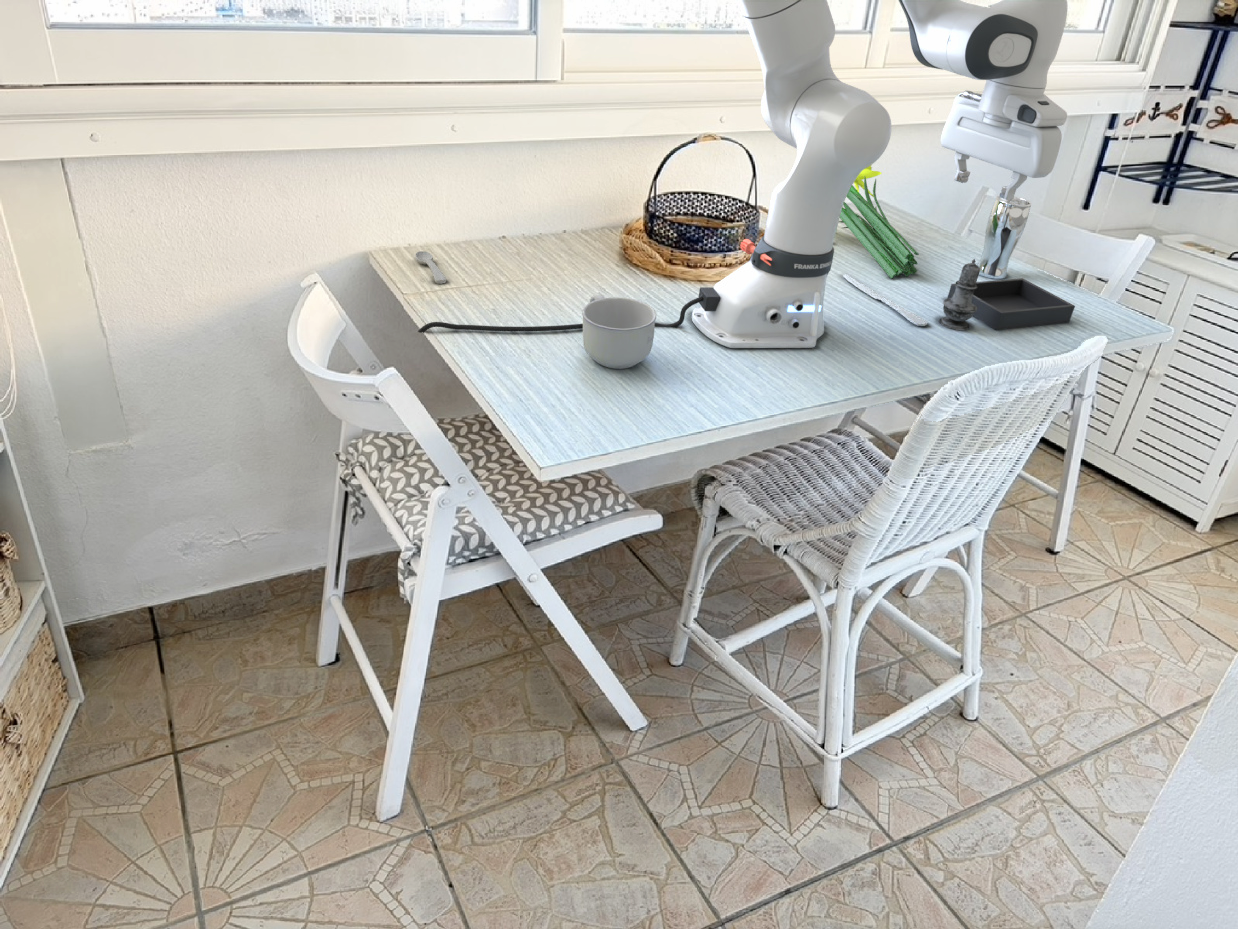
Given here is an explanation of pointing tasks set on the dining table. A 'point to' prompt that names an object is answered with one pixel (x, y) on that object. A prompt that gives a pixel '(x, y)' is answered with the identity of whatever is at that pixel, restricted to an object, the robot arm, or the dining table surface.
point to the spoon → (428, 259)
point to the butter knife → (887, 302)
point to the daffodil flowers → (877, 230)
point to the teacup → (618, 331)
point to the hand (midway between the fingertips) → (982, 189)
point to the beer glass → (1002, 235)
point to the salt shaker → (961, 299)
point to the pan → (1016, 304)
